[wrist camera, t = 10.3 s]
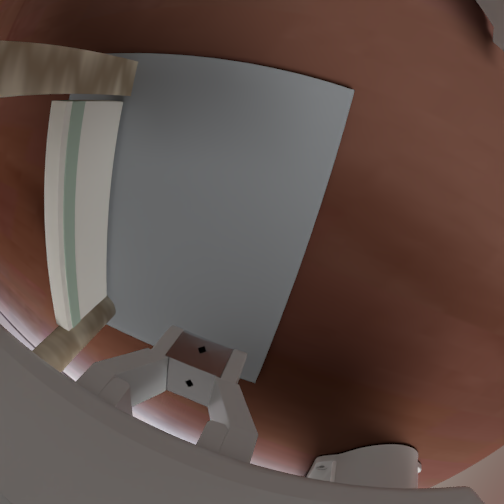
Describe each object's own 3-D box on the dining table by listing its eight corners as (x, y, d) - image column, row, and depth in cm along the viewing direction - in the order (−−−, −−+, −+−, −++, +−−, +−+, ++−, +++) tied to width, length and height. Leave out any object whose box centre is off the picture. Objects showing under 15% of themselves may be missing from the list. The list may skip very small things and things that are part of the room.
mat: (256, 379, 30) (255, 383, 29) (70, 302, 32) (68, 304, 31) (353, 91, 18) (354, 90, 17) (81, 56, 20) (77, 55, 19)
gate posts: (119, 321, 31) (39, 412, 17) (95, 309, 31) (13, 391, 18) (145, 60, 19) (-12, 35, 6) (112, 60, 20) (-37, 48, 6)
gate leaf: (107, 296, 28) (69, 331, 22) (94, 289, 28) (55, 323, 23) (124, 101, 20) (67, 101, 14) (107, 100, 20) (51, 100, 14)
